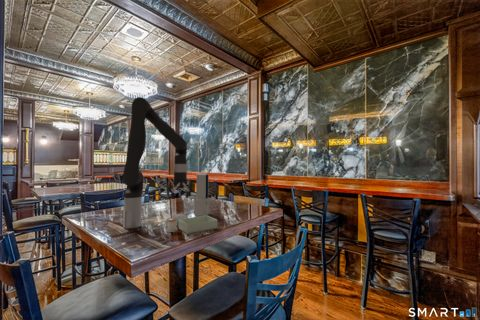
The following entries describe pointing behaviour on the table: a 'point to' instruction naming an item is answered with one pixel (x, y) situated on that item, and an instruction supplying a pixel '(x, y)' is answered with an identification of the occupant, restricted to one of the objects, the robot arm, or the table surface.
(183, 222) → the tote
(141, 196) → the robot arm
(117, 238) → the table surface
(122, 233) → the table surface
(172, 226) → the jar
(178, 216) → the block
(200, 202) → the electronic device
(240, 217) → the table surface
